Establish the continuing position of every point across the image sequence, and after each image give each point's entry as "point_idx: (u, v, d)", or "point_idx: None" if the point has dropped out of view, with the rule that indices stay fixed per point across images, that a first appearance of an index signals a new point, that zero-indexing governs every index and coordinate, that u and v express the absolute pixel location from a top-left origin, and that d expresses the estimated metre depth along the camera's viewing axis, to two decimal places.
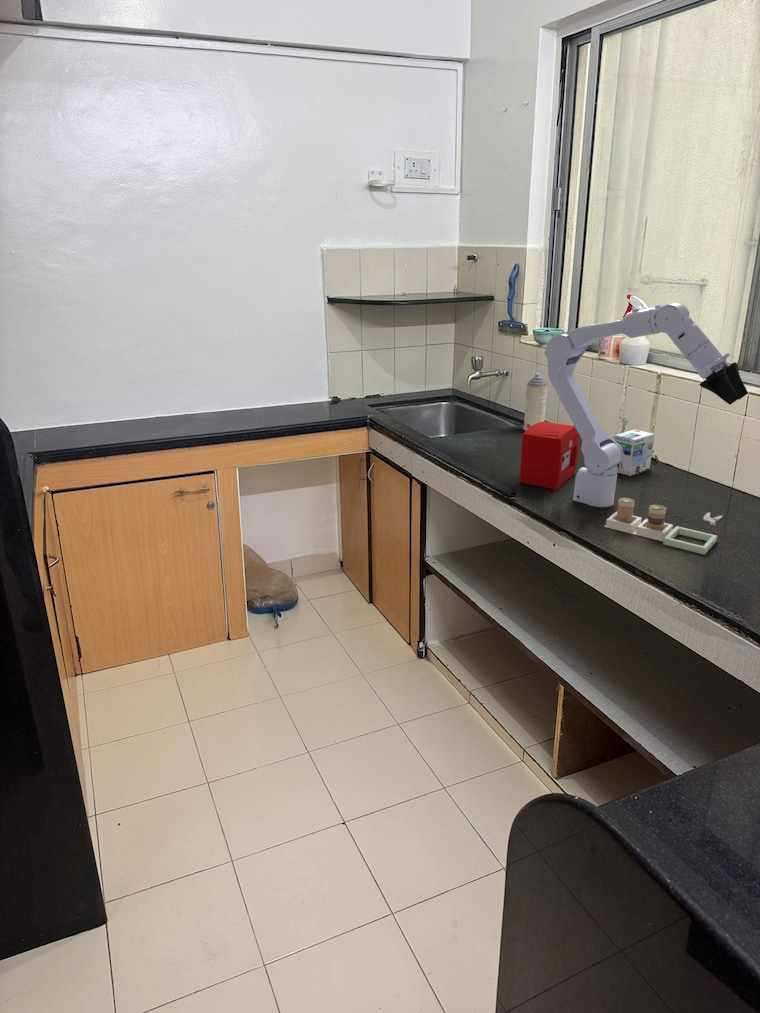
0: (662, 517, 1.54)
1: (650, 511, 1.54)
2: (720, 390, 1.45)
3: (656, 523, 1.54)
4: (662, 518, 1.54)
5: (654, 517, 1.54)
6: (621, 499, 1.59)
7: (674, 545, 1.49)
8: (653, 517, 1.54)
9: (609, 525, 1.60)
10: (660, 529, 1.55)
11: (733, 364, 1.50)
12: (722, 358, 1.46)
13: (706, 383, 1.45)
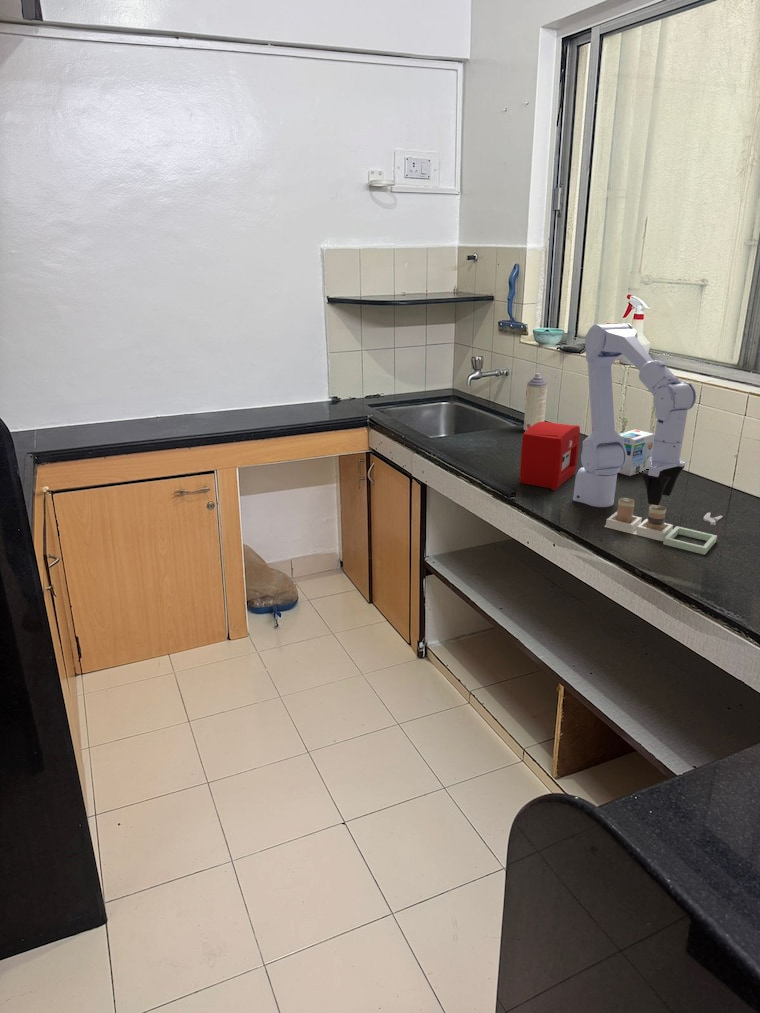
0: (662, 517, 1.54)
1: (650, 511, 1.54)
2: (652, 488, 1.50)
3: (656, 523, 1.54)
4: (662, 518, 1.54)
5: (654, 517, 1.54)
6: (621, 499, 1.59)
7: (674, 545, 1.49)
8: (653, 517, 1.54)
9: (609, 525, 1.60)
10: (660, 529, 1.55)
11: (681, 468, 1.53)
12: (676, 464, 1.48)
13: (647, 477, 1.48)
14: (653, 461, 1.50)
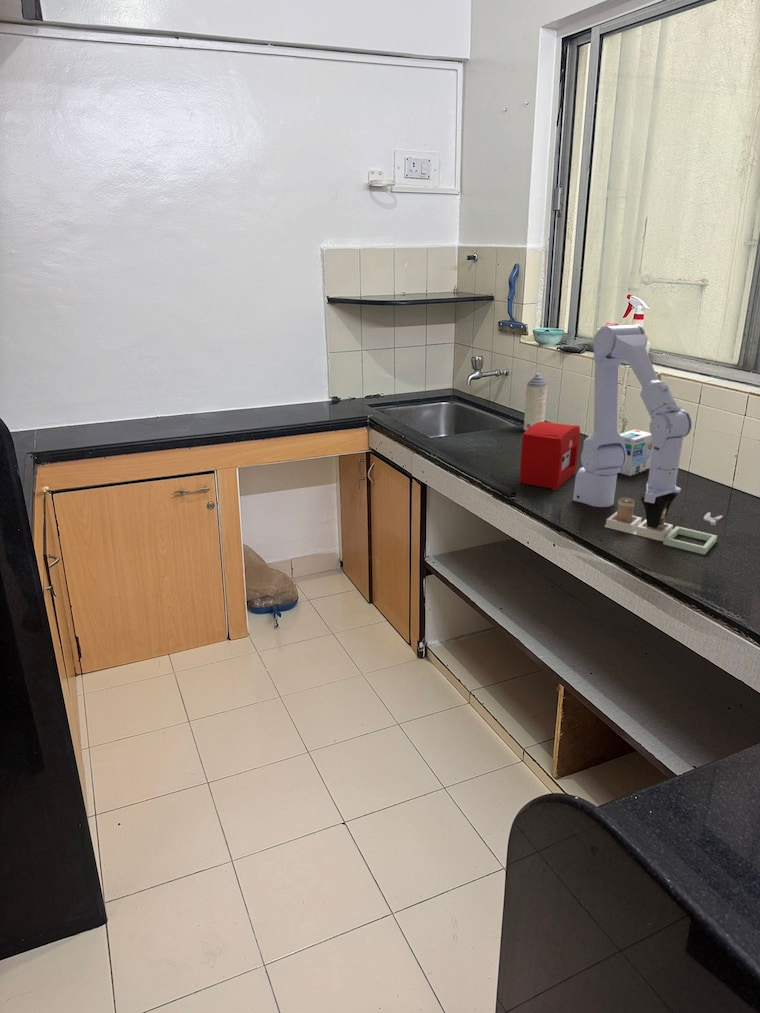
0: (662, 517, 1.54)
1: None
2: (651, 511, 1.53)
3: None
4: (662, 518, 1.54)
5: None
6: (621, 499, 1.59)
7: (674, 545, 1.49)
8: None
9: (609, 525, 1.60)
10: (660, 529, 1.55)
11: (674, 495, 1.53)
12: (672, 491, 1.50)
13: None
14: (649, 487, 1.52)
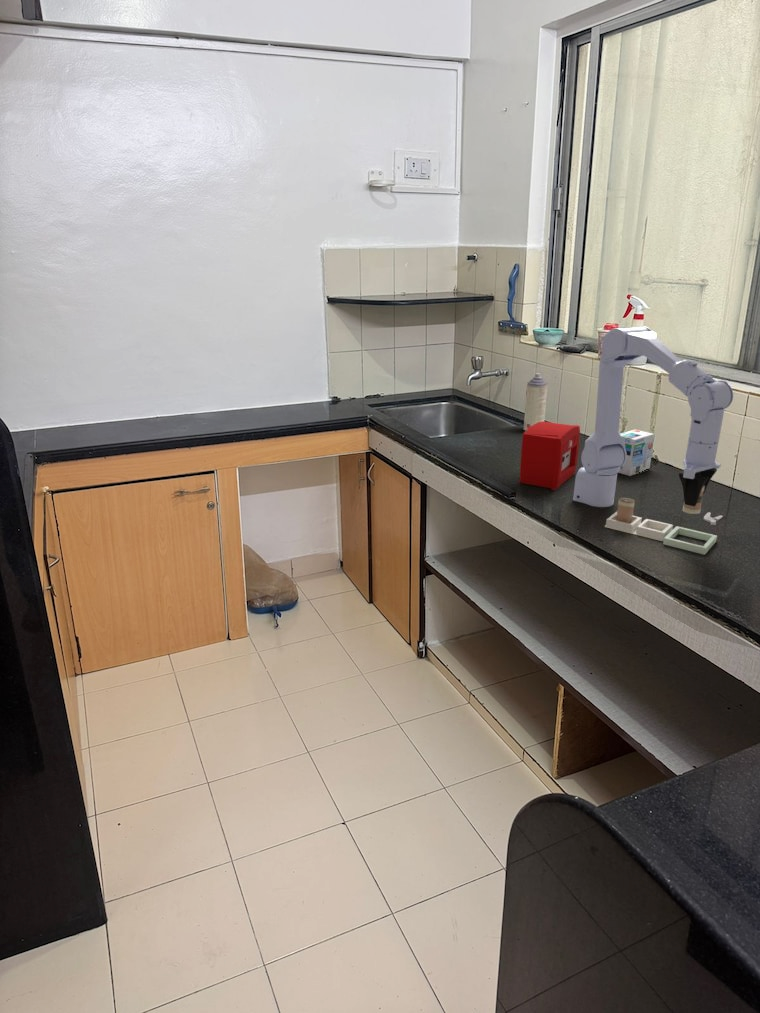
0: (700, 495, 1.46)
1: None
2: (689, 489, 1.46)
3: None
4: (700, 496, 1.46)
5: None
6: (621, 499, 1.59)
7: (674, 545, 1.49)
8: None
9: (609, 525, 1.60)
10: (698, 507, 1.47)
11: (713, 472, 1.46)
12: (712, 466, 1.43)
13: (684, 477, 1.44)
14: (687, 463, 1.44)
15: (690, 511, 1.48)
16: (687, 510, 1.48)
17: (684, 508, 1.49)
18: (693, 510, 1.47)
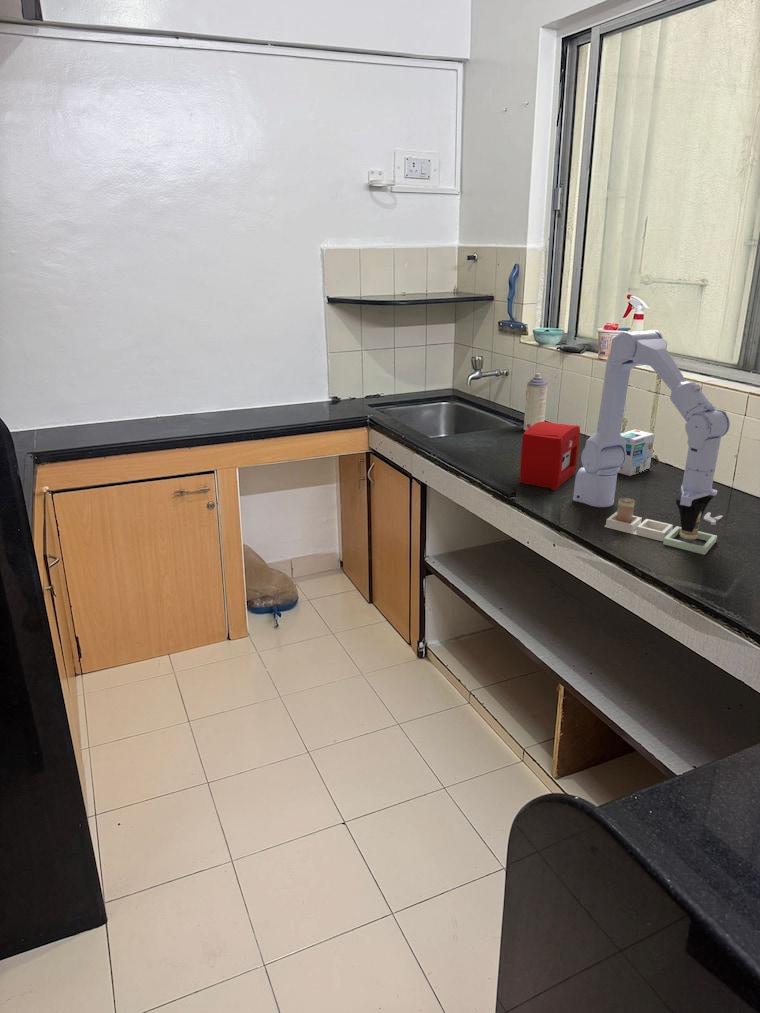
0: (697, 521, 1.48)
1: None
2: (686, 515, 1.48)
3: None
4: (697, 522, 1.48)
5: None
6: (621, 499, 1.59)
7: (674, 545, 1.49)
8: None
9: (609, 525, 1.60)
10: (695, 533, 1.49)
11: (710, 498, 1.48)
12: (709, 493, 1.45)
13: None
14: (684, 489, 1.46)
15: (687, 537, 1.49)
16: (684, 536, 1.50)
17: (681, 533, 1.51)
18: (690, 536, 1.49)
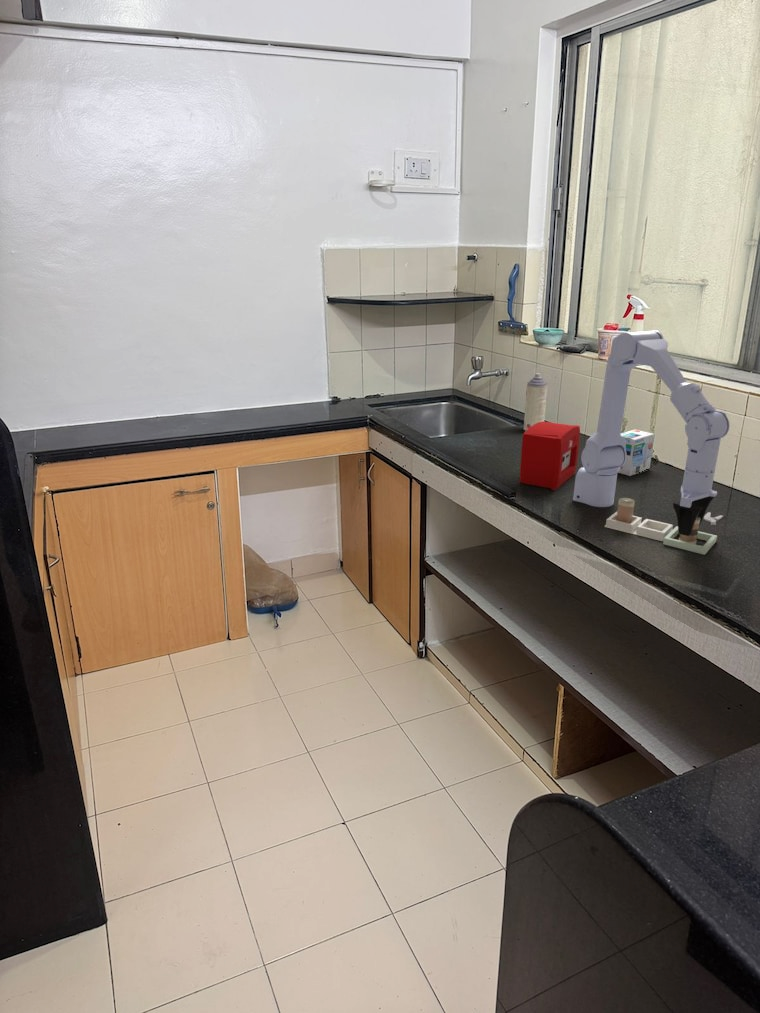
0: (696, 527, 1.49)
1: None
2: (683, 518, 1.46)
3: (690, 534, 1.49)
4: (696, 529, 1.49)
5: None
6: (621, 499, 1.59)
7: (674, 545, 1.49)
8: None
9: (609, 525, 1.60)
10: (694, 540, 1.50)
11: (712, 497, 1.49)
12: (708, 494, 1.45)
13: (678, 507, 1.45)
14: (684, 491, 1.46)
15: None
16: None
17: (680, 540, 1.51)
18: (689, 542, 1.50)
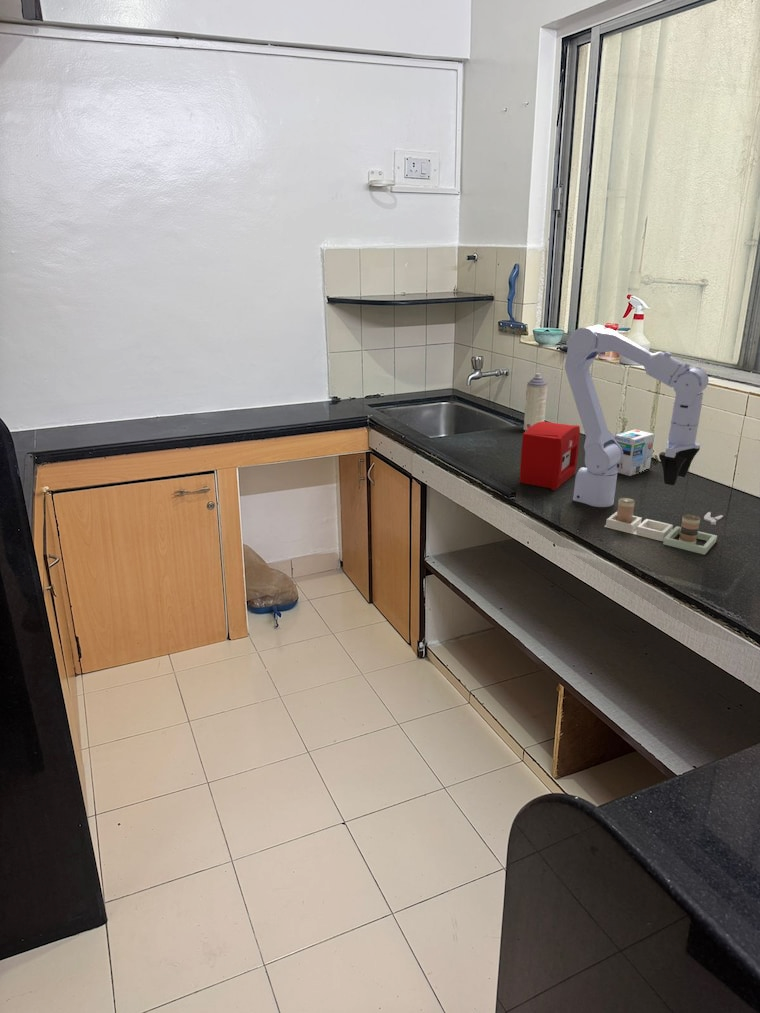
0: (696, 527, 1.49)
1: (684, 521, 1.49)
2: (668, 469, 1.58)
3: (690, 534, 1.49)
4: (696, 529, 1.49)
5: (688, 527, 1.49)
6: (621, 499, 1.59)
7: (674, 545, 1.49)
8: (687, 527, 1.49)
9: (609, 525, 1.60)
10: (694, 540, 1.50)
11: (696, 450, 1.60)
12: (692, 446, 1.56)
13: (664, 458, 1.56)
14: (670, 443, 1.57)
15: None
16: None
17: (680, 540, 1.51)
18: (689, 542, 1.50)
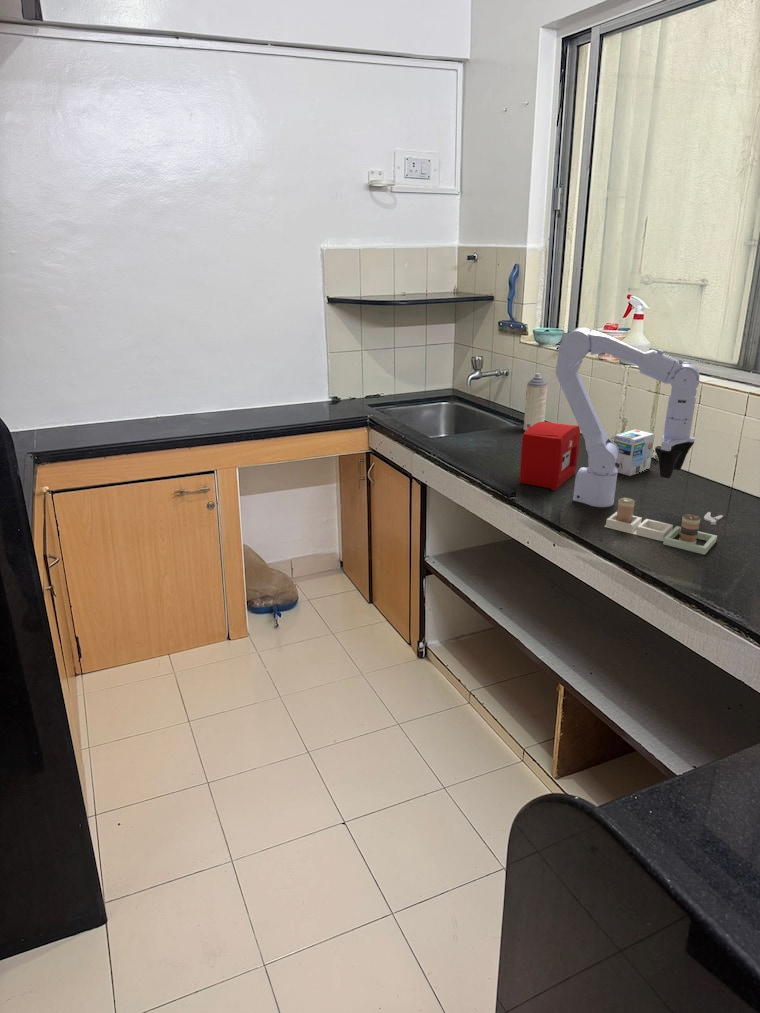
0: (696, 527, 1.49)
1: (684, 521, 1.49)
2: (664, 462, 1.62)
3: (690, 534, 1.49)
4: (696, 529, 1.49)
5: (688, 527, 1.49)
6: (621, 499, 1.59)
7: (674, 545, 1.49)
8: (687, 527, 1.49)
9: (609, 525, 1.60)
10: (694, 540, 1.50)
11: (690, 444, 1.64)
12: (687, 440, 1.60)
13: (660, 452, 1.60)
14: (665, 437, 1.61)
15: None
16: None
17: (680, 540, 1.51)
18: (689, 542, 1.50)
